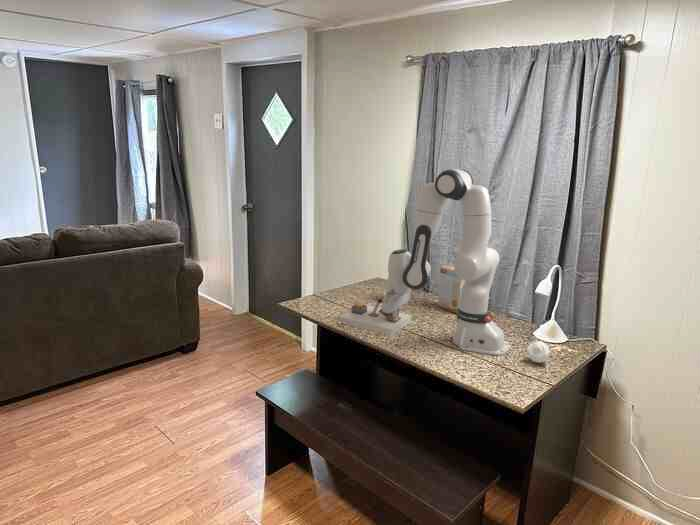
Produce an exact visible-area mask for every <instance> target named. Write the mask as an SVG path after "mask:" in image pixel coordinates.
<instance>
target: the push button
mask: <svg viewBox="0 0 700 525" xmlns="http://www.w3.org/2000/svg"><path fill="white" fill-rule="evenodd" d="M355 304H356V307H358V308H362V307H363V305H364V303H363V302H360V301H359V302H356V303H355Z"/></svg>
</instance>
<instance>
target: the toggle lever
mask: <svg viewBox="0 0 700 525" xmlns="http://www.w3.org/2000/svg"><path fill="white" fill-rule="evenodd" d="M381 303H383V300H382V298H378V299H377V302H376V304H375V306H374V307H375V308H374V310H373V311H372V313H373V314H375V313H376V311H377V309H378V308H380V305H381Z"/></svg>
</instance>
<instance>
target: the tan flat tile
mask: <svg viewBox="0 0 700 525" xmlns="http://www.w3.org/2000/svg"><path fill="white" fill-rule="evenodd" d="M379 313H381V314H382V315H384V316H385V317H387V318H388V319H390V320H391V321H393V322H394V323H396V322H397V321H399V320H400V319H401V317H399V316H397V317H396V318H394V317H393V316H392V315H393V313H392V312H391V313H390V314H389V313H384V312H383V311H382V308H381V309H380V310H379Z"/></svg>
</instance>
